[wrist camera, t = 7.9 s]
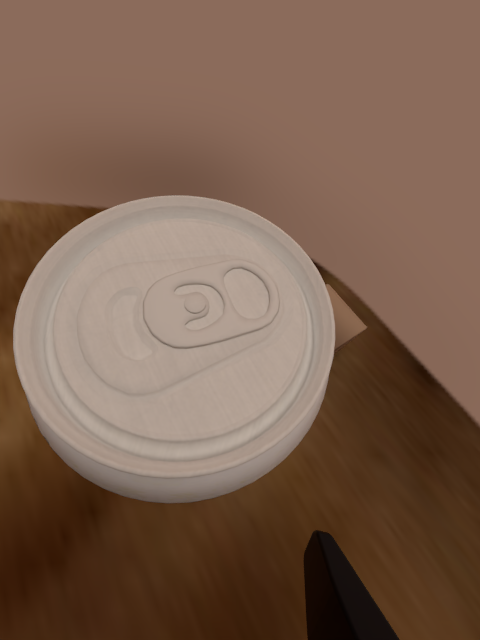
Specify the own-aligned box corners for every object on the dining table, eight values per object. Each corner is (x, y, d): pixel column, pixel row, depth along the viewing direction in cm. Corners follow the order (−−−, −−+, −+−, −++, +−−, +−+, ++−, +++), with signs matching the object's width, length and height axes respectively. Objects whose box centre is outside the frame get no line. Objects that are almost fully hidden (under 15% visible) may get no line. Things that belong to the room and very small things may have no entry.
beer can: (134, 389, 18) (-24, 204, 5) (220, 360, 20) (274, 167, 7) (157, 489, 16) (-17, 628, 3) (252, 447, 18) (426, 411, 5)
